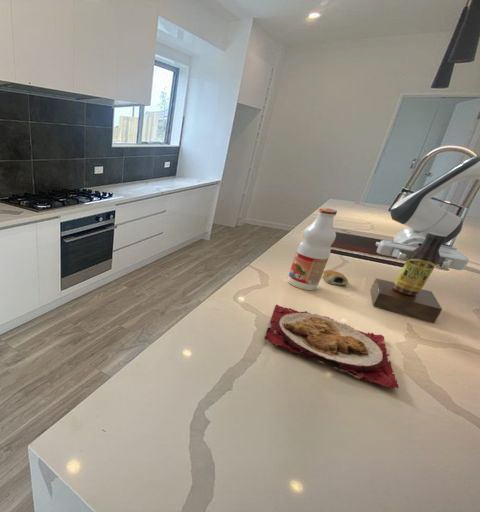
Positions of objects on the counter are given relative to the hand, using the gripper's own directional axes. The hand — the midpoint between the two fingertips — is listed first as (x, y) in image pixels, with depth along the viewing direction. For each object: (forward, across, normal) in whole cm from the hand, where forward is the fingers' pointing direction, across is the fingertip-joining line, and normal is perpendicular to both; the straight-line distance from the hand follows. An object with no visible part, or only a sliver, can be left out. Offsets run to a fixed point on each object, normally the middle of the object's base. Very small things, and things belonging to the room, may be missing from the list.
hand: (423, 261), depth 91 cm
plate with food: (+39, -19, +16) cm, 47 cm away
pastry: (-8, -18, +16) cm, 26 cm away
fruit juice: (+4, -27, +16) cm, 32 cm away
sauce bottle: (-1, 0, +11) cm, 11 cm away
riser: (-1, 0, +16) cm, 16 cm away
